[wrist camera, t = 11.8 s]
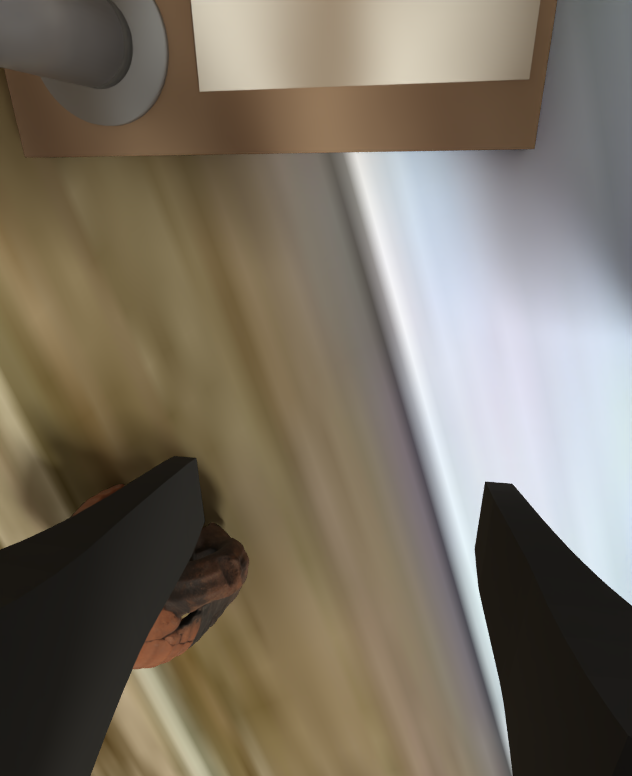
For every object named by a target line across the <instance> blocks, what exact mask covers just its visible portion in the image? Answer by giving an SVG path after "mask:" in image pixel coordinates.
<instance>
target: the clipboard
mask: <svg viewBox="0 0 632 776" xmlns="http://www.w3.org/2000/svg"><path fill="white" fill-rule="evenodd" d="M111 1H112V2H113V3H115V4H116V5H117V7H118V8H119V9H120V10H121V12H122V13H123V15H124V17H125V19H126V20H127V23H128V25H129V28H130V31H131V35H132V41H133V55H132V61H131V65H130V68H129V70H128V72H127V74H126V76H125V77H124V78H123V79H122V80H121V81H120V82H119V83H118V84H117V85H115V86H113V87H111V88H108V89H95V88H90V87H86V86H81V85H77V84H72V83H68V82H63V81H59V80H55V79H50V78H46V77H41V76H37V75H32V74H28V73H24V72H19V71H15V70H10V69H6V68H4V71H5V75H6V79H7V83H8V88H9V92H10V96H11V100H12V105H13V109H14V113H15V117H16V122H17V126H18V130H19V134H20V139H21V143H22V147H23V151H24V156H25V157H93V156H153V155H212V154H272V153H331V152H391V151H450V150H510V149H534V148H535V141H536V135H537V128H538V122H539V115H540V109H541V102H542V96H543V89H544V83H545V76H546V70H547V63H548V57H549V50H550V44H551V37H552V31H553V24H554V18H555V11H556V5H557V0H111Z"/></svg>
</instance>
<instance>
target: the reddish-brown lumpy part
mask: <svg viewBox="0 0 632 776" xmlns="http://www.w3.org/2000/svg"><path fill="white" fill-rule="evenodd" d="M122 487H124V484H119V485H115V486H112V487H110V488H109V489H106V490H103V491H101V492H100V493H98V494H97V495H95V496H93V497H91V498H89V499H88V500H87V501H86V502H84V503H83V504H82V505H81V506H80V508H79V509H78V510H76V511H75V513H74V514H73V515H72V516H74V515H76V514H78V513H79V512H81V511H83V510H85V509H87V508H88V507H90V506H92V505H94V504H95V503H97V502H99V501H101V500H102V499H104V498H106V497H108V496H109V495H111V494H113V493H114V492H116V491H117V490H119V489H121V488H122ZM72 516H71V517H72ZM71 517H70V518H71ZM248 565H249V558H248V555H247V553H246V552H245V550H244V547H243V545H242V544H241V543H240V542H239V541H237V540H235V539H233V538H230V536H229V535H228V534H227V533H226V532H225V531H224V530H223V529H222V528H221V527H220V526H218V525H217V524H215V523H210V524H209V525H208V526H207V527H204V528H202V530H201V533H200V536H199V538H198V541H197V543H196V546H195V548H194V551H193V553H192V556H191V558H190V560H189V562H188V563H187V565H186V567H185V569H184V571H183V573H182V575H181V576H180V578H179V580H178V582H177V584H176V586H175V587H174V589H173V591H172V593H171V595H170V596H169V598H168V600H167V602H166V604H165V605H164V607H163V609H162V611H161V613H160V614H159V616H158V618H157V620H156V622H155V623H154V625H153V627H152V629H151V631H150V632H149V634H148V636H147V638H146V640H145V642H144V644H143V646H142V648H141V650H140V653H139V655H138V657H137V660H136V662H135V664H134V667H133V669H141V668H152V667H155V666H158V665H160V664H162V663H166V662H168V661H170V660H172V659H173V658H174V657H175V656H179V655H181V654H182V653H184V652H185V651H186V650H187V649H188V648H190V647H191V646H192V645H194V644H195V642H197V641H198V640H199V639H200V638H201V636H202V635H203V634H204V633H205V632H206V631H207V630H208V629H209V627H211V626H212V625H213V624H214V623H215V622H216V621H217V619H218V618H219V617H220V616H221V615H222V613H223V612H224V610H225V609H226V607H227V606H228V605H229V604H230V603H231V602H232V601H233V600H234V599H235V598H236V597H237V595H238V593H239V591H240V589H241V587H242V585H243V583H244V582H245V580H246V578H247V573H248ZM186 613H190V614H189V615H188V616H186V617H185V618H183V619H181V616H182V615H184V614H186Z"/></svg>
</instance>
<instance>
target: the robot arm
mask: <svg viewBox="0 0 632 776" xmlns="http://www.w3.org/2000/svg"><path fill="white" fill-rule="evenodd" d="M204 522H205V519H204V512H203V504H202V497H201V490H200V482H199V475H198V467H197V460H196V458H190V457H178V456H174V457H172V458H170V459H168V460H166V461H164V462H163V463H161V464H159V465H158V466H156V467H154V468H153V469H151V470H150V471H148V472H146V473H145V474H143V475H142V476H140V477H138V478H137V479H135V480H134V481H132V482H130V483H129V484H127V485H126V486H124V487H122V488H121V489H119V490H117V491H116V492H114V493H113V494H111V495H109V496H108V497H106V498H104V499H102V500H101V501H99V502H97V503H95V504H94V505H92V506H90V507H88V508H87V509H85V510H83V511H81V512H79V513H78V514H76V515H74V516H72V517H71V518H69V519H67V520H65V521H63V522H61V523H59V524H57V525H55V526H53V527H51V528H49V529H47V530H45V531H42V532H40V533H38V534H36V535H34V536H32V537H30V538H27V539H25V540H23V541H21V542H18V543H16V544H13V545H11V546H8V547H6V548H3V549H1V550H0V776H90V775H91V773H92V770H93V767H94V764H95V762H96V759H97V756H98V754H99V751H100V748H101V746H102V743H103V740H104V738H105V735H106V732H107V730H108V727H109V725H110V722H111V720H112V717H113V715H114V712H115V710H116V707H117V705H118V702H119V700H120V697H121V695H122V692H123V690H124V688H125V685H126V683H127V681H128V678H129V676H130V674H131V671H132V669H133V667H134V664H135V662H136V660H137V657H138V655H139V653H140V650H141V648H142V646H143V644H144V642H145V640H146V638H147V636H148V634H149V632H150V631H151V629H152V627H153V625H154V623H155V622H156V620H157V618H158V616H159V614H160V613H161V611H162V609H163V607H164V605H165V604H166V602H167V600H168V598H169V596H170V595H171V593H172V591H173V589H174V587H175V586H176V584H177V582H178V580H179V578H180V576H181V575H182V573H183V571H184V569H185V567H186V565H187V563H188V562H189V560H190V558H191V556H192V553H193V551H194V548H195V546H196V543H197V541H198V538H199V536H200V533H201V530H202V527H203V525H204ZM475 557H476V568H477V578H478V587H479V592H480V597H481V601H482V606H483V610H484V615H485V619H486V624H487V628H488V632H489V637H490V641H491V646H492V650H493V654H494V659H495V663H496V667H497V672H498V676H499V680H500V686H501V691H502V696H503V702H504V709H505V716H506V724H507V732H508V740H509V747H510V755H511V764H512V773H513V776H632V606H631V605H630V604H629V603H628V602H627V601H625V600H624V599H623V598H622V597H621V596H619V595H618V594H617V593H616V592H615V591H614V590H612V589H611V588H610V587H609V586H608V585H607V584H606V583H604V582H603V581H602V580H601V579H600V578H599V577H598V576H597V575H596V574H595V573H594V572H593V571H592V570H591V569H589V568H588V567H587V566H586V565H585V564H584V563H583V562H582V561H581V560H580V559H579V558H578V557H577V556H576V555H575V554H574V553H573V552H572V551H571V550H570V549H569V548H568V547H567V546H566V545H565V543H564V542H563V541H562V540H561V539H560V538H559V537H558V536H557V535H556V534H555V533H554V532H553V531H552V529H551V528H550V527H549V526H548V525H547V524H546V523H545V521H544V520H543V519H542V518H541V517H540V516H539V515H538V513H537V512H536V511H535V510H534V509H533V508H532V506H531V505H530V504H529V503H528V502H527V500H526V499H525V498H524V497H523V496H522V494H521V493H520V492H519V491H518V490H517V489H516V488H515V486H514V485H513V484H508V483H496V482H485V486H484V493H483V499H482V505H481V512H480V518H479V525H478V531H477V538H476V544H475Z"/></svg>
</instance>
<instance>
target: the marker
mask: <svg viewBox="0 0 632 776" xmlns="http://www.w3.org/2000/svg"><path fill="white" fill-rule="evenodd" d="M132 55H133V41H132V35H131V31H130V28H129V25H128V23H127V20H126V19H125V17H124V15H123V13H122V12H121V10H120V9H119V8H118V7H117V5H116V4H115V3H113V2H112V1H111V0H0V67H1V68H6V69H10V70H15V71H19V72H24V73H28V74H32V75H37V76H41V77H46V78H50V79H55V80H59V81H63V82H68V83H72V84H77V85H81V86H86V87H90V88H95V89H108V88H111V87H113V86H115V85H117V84H118V83H119V82H120V81H121V80H122V79H123V78H124V77H125V76H126V74H127V72H128V70H129V68H130V65H131V61H132Z"/></svg>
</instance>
